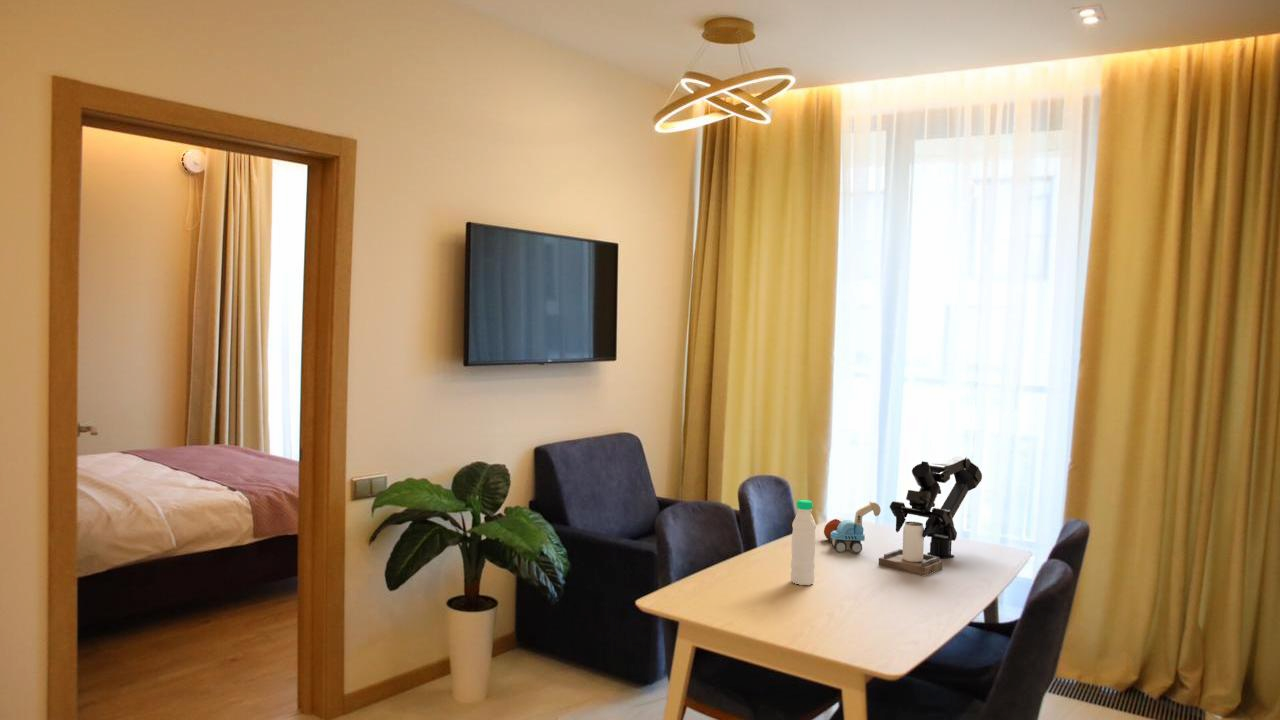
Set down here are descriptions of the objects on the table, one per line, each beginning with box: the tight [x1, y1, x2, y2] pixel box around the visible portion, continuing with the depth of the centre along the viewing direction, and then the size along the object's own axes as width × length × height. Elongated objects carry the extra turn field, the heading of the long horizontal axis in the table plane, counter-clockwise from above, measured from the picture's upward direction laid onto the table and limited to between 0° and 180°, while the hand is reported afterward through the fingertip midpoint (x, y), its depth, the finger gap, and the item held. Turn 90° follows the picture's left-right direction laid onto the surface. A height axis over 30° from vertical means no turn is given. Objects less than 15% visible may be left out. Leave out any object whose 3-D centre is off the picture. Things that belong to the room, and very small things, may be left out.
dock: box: [878, 548, 943, 577], centre depth 296 cm, size 12×16×4 cm
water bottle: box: [790, 499, 817, 586], centre depth 275 cm, size 7×7×25 cm
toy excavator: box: [829, 501, 881, 554], centre depth 316 cm, size 9×17×17 cm, turn 89°
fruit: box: [823, 518, 842, 541], centre depth 329 cm, size 9×9×8 cm
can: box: [902, 521, 925, 562], centre depth 295 cm, size 6×6×12 cm
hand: (909, 534), depth 294 cm, fingers open, 9 cm apart
